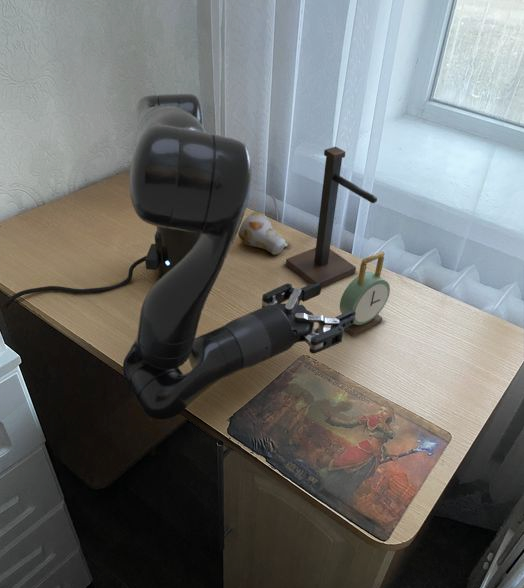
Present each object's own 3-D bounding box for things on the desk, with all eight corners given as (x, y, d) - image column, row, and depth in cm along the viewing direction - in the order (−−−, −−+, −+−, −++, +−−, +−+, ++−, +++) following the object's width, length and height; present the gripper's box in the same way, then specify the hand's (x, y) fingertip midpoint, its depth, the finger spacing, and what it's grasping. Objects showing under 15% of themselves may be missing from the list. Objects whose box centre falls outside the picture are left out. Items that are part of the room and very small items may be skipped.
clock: (349, 338, 93) (361, 270, 84) (333, 325, 96) (344, 258, 86) (385, 319, 97) (402, 253, 88) (370, 308, 100) (384, 242, 90)
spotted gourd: (276, 265, 109) (253, 223, 104) (248, 263, 117) (225, 225, 112) (299, 243, 112) (277, 202, 107) (270, 243, 120) (249, 205, 115)
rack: (376, 288, 104) (402, 167, 88) (338, 306, 100) (358, 182, 83) (323, 250, 114) (337, 134, 97) (285, 265, 109) (294, 146, 92)
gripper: (285, 346, 74) (370, 306, 81) (229, 293, 82) (310, 261, 90) (282, 383, 79) (362, 342, 86) (230, 330, 88) (307, 297, 95)
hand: (336, 301), depth 88 cm, fingers open, 8 cm apart
